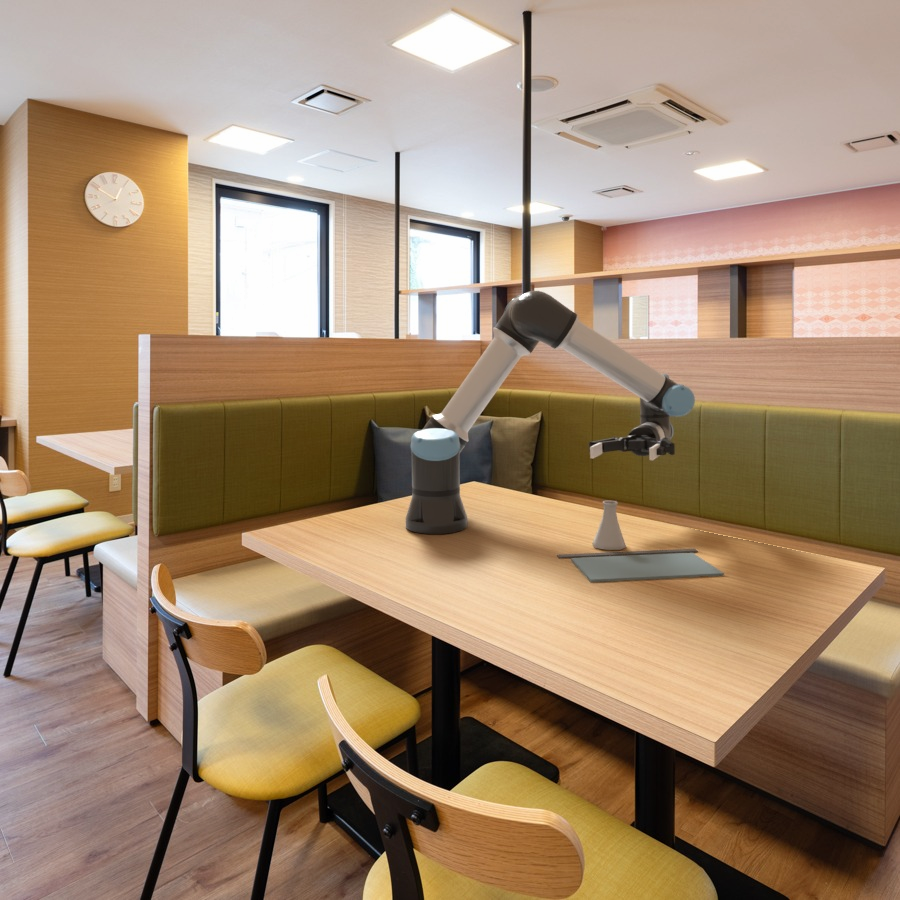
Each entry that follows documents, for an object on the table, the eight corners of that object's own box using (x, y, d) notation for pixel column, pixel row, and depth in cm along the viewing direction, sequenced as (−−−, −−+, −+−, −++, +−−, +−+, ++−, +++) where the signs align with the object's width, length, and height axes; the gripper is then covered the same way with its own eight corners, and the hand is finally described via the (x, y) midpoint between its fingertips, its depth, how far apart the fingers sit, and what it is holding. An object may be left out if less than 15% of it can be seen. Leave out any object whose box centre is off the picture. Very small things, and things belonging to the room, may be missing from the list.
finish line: (559, 558, 139) (559, 556, 139) (557, 555, 141) (557, 554, 141) (697, 552, 142) (697, 550, 142) (694, 549, 144) (694, 548, 144)
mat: (590, 582, 125) (590, 579, 125) (570, 560, 138) (570, 558, 138) (723, 575, 128) (724, 573, 128) (692, 554, 140) (692, 552, 140)
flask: (627, 543, 149) (628, 499, 148) (624, 552, 143) (625, 506, 141) (594, 540, 152) (595, 497, 150) (590, 549, 145) (591, 504, 144)
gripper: (697, 455, 164) (677, 472, 146) (598, 452, 177) (569, 467, 159) (697, 424, 163) (677, 437, 145) (597, 424, 176) (567, 436, 158)
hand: (620, 453), depth 152 cm, fingers open, 13 cm apart
